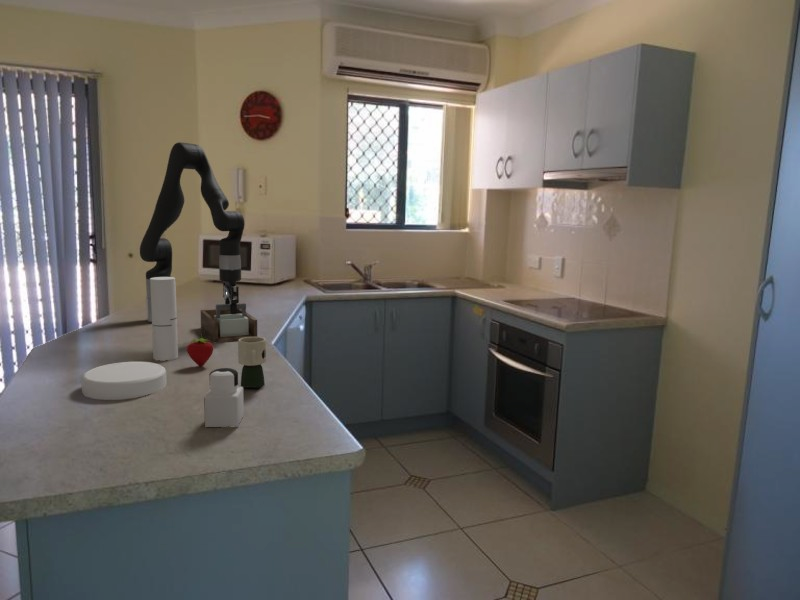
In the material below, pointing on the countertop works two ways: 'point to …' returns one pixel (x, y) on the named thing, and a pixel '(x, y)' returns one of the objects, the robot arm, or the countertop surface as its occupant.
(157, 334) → the cylindrical container
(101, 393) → the container
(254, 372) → the character mug
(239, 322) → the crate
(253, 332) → the bay
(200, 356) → the strawberry
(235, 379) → the medicine bottle
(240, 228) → the robot arm
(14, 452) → the countertop surface
